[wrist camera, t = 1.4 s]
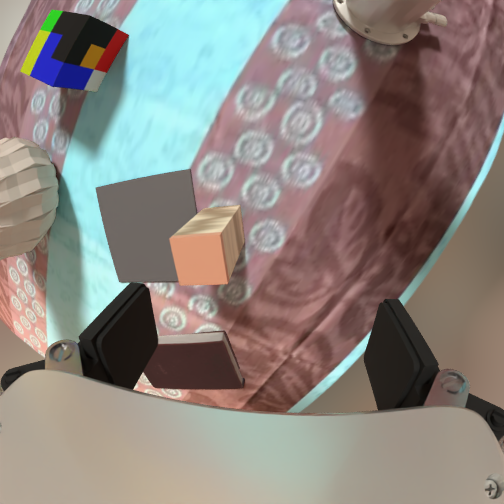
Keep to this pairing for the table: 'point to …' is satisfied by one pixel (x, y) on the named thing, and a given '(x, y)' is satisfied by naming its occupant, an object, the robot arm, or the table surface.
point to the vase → (25, 196)
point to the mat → (146, 223)
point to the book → (194, 362)
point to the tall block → (208, 246)
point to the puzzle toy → (73, 51)
